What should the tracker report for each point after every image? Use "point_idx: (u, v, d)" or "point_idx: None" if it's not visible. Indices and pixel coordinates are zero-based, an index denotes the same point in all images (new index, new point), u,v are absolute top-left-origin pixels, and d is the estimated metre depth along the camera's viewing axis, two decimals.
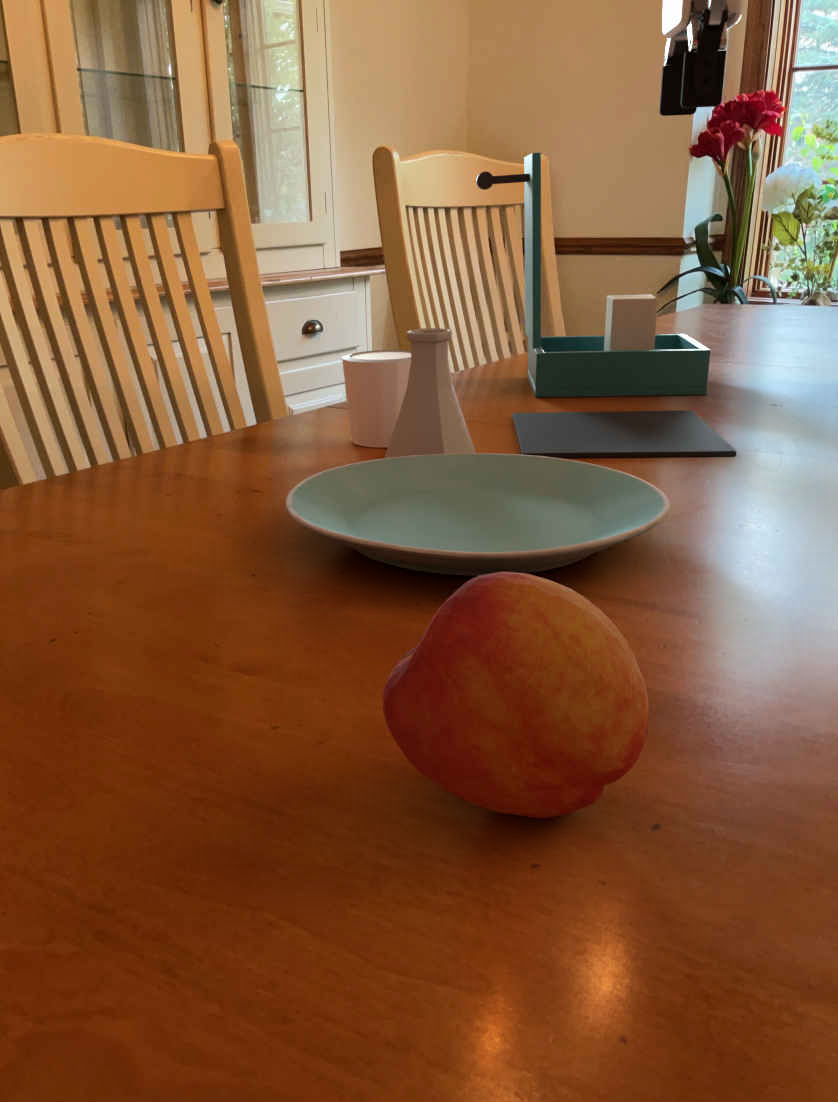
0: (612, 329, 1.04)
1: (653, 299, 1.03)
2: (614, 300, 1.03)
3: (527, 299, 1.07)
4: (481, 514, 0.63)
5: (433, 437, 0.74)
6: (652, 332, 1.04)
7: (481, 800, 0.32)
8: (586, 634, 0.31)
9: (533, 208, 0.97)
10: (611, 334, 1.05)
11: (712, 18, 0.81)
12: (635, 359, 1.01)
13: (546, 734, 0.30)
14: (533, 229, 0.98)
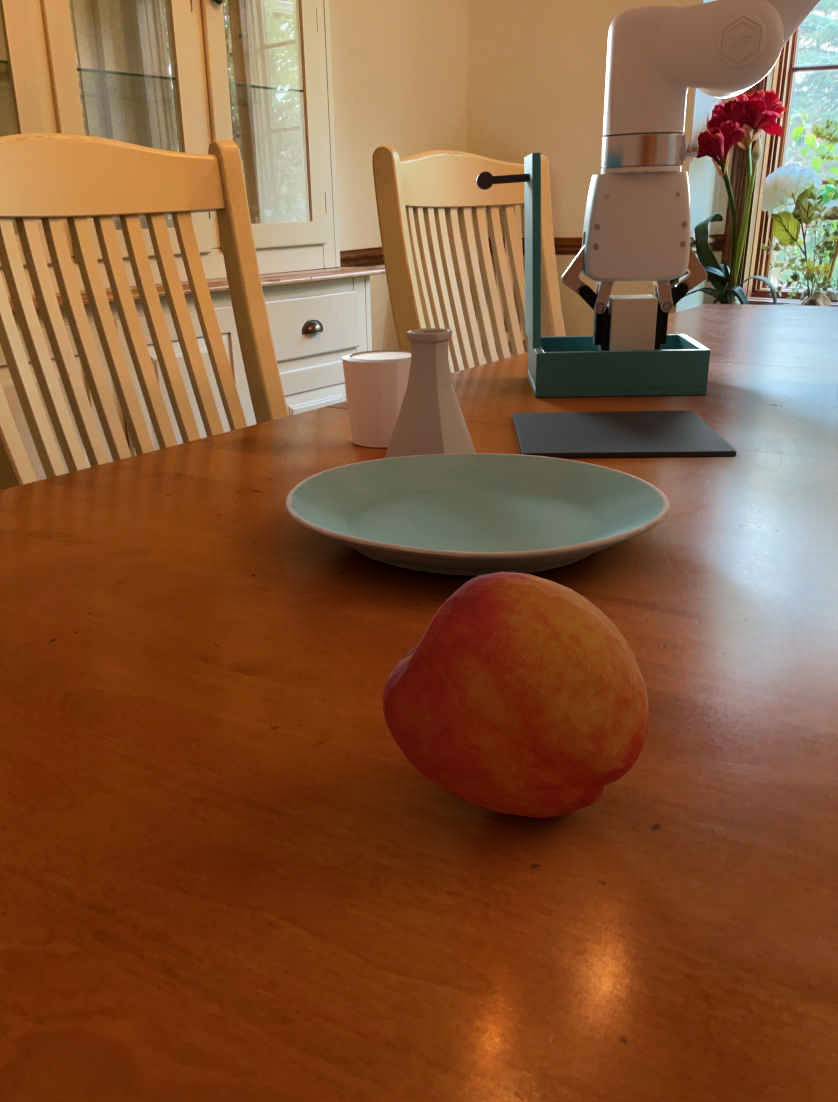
0: (612, 329, 1.04)
1: (653, 299, 1.03)
2: (614, 300, 1.03)
3: (527, 299, 1.07)
4: (481, 514, 0.63)
5: (433, 437, 0.74)
6: (652, 332, 1.04)
7: (481, 800, 0.32)
8: (585, 634, 0.31)
9: (533, 208, 0.97)
10: (611, 334, 1.05)
11: None
12: (635, 359, 1.01)
13: (545, 734, 0.30)
14: (533, 229, 0.98)
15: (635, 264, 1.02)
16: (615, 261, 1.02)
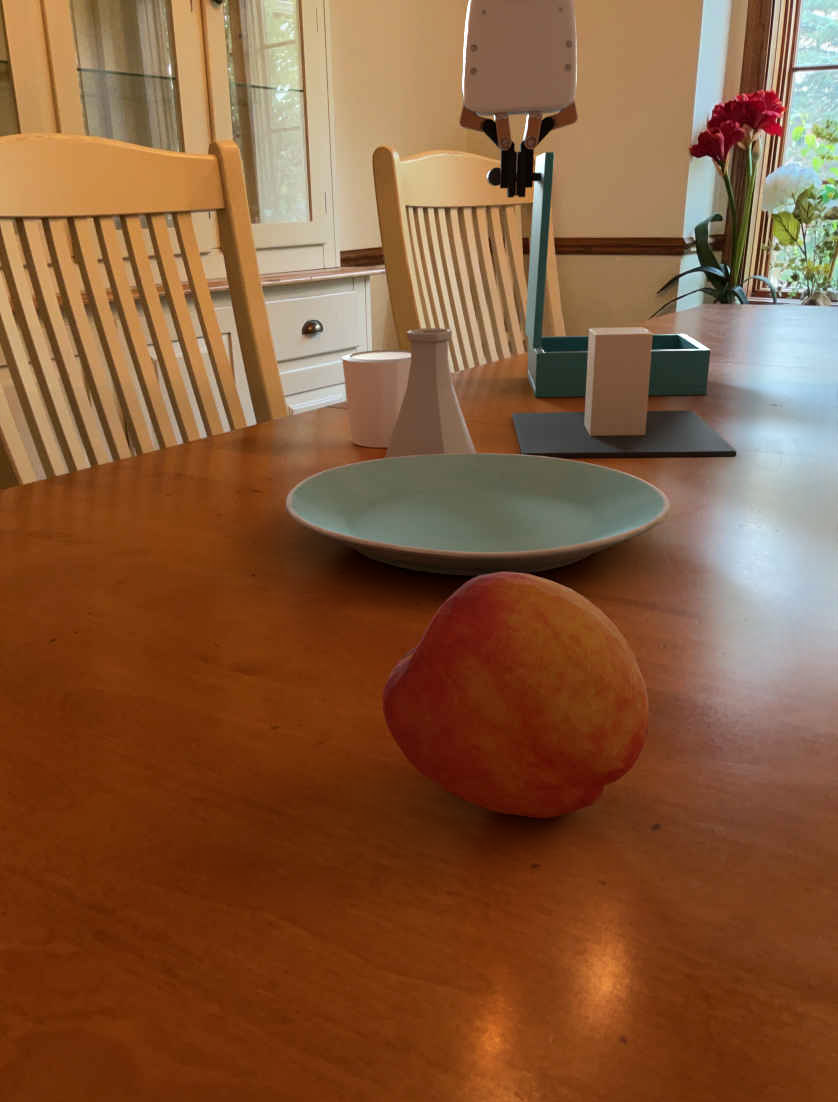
0: (595, 372, 0.83)
1: (646, 335, 0.81)
2: (597, 336, 0.82)
3: (530, 299, 1.07)
4: (481, 514, 0.63)
5: (433, 437, 0.74)
6: (645, 376, 0.83)
7: (481, 800, 0.32)
8: (586, 634, 0.31)
9: (543, 207, 0.97)
10: (594, 378, 0.83)
11: (554, 125, 0.95)
12: None
13: (546, 734, 0.30)
14: (541, 229, 0.97)
15: (517, 91, 0.93)
16: (495, 87, 0.93)
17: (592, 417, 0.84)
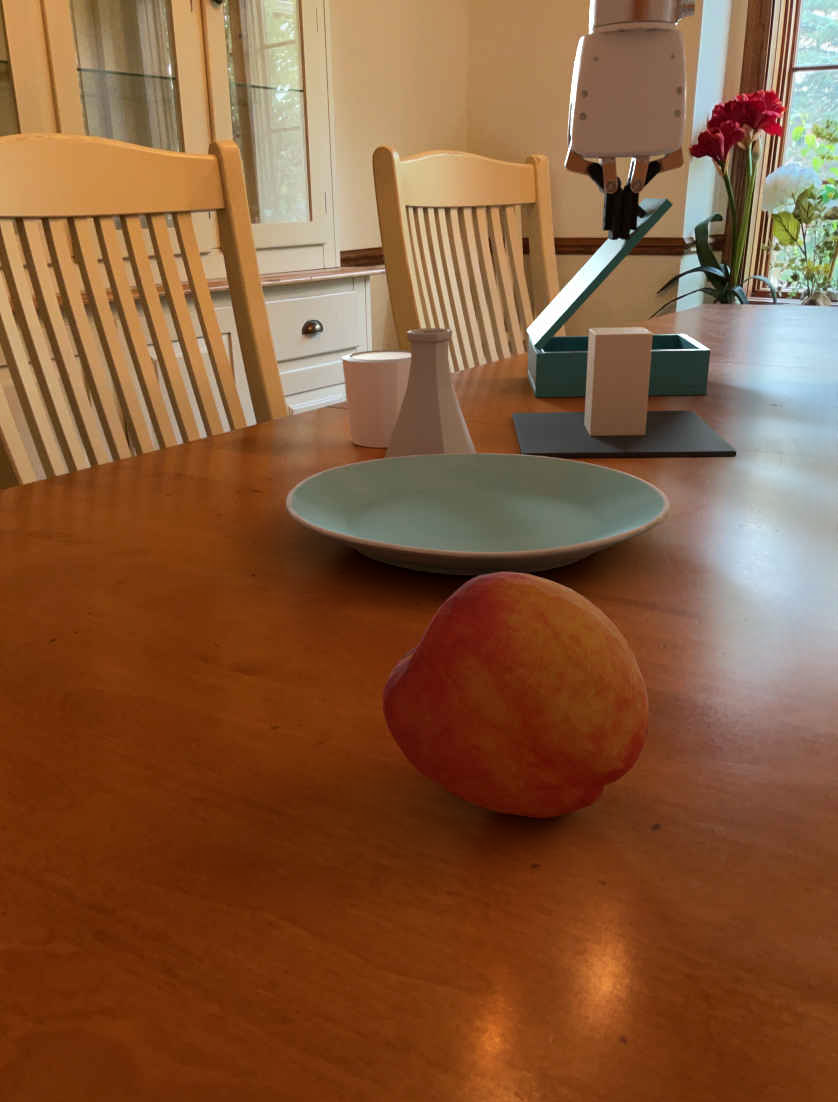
0: (595, 372, 0.83)
1: (646, 335, 0.81)
2: (597, 336, 0.82)
3: (555, 306, 1.08)
4: (481, 514, 0.63)
5: (433, 437, 0.74)
6: (645, 376, 0.83)
7: (481, 800, 0.32)
8: (586, 634, 0.31)
9: (630, 240, 0.97)
10: (594, 378, 0.83)
11: (659, 169, 0.96)
12: None
13: (546, 734, 0.30)
14: (615, 256, 0.98)
15: (626, 136, 0.93)
16: (604, 132, 0.94)
17: (592, 417, 0.84)
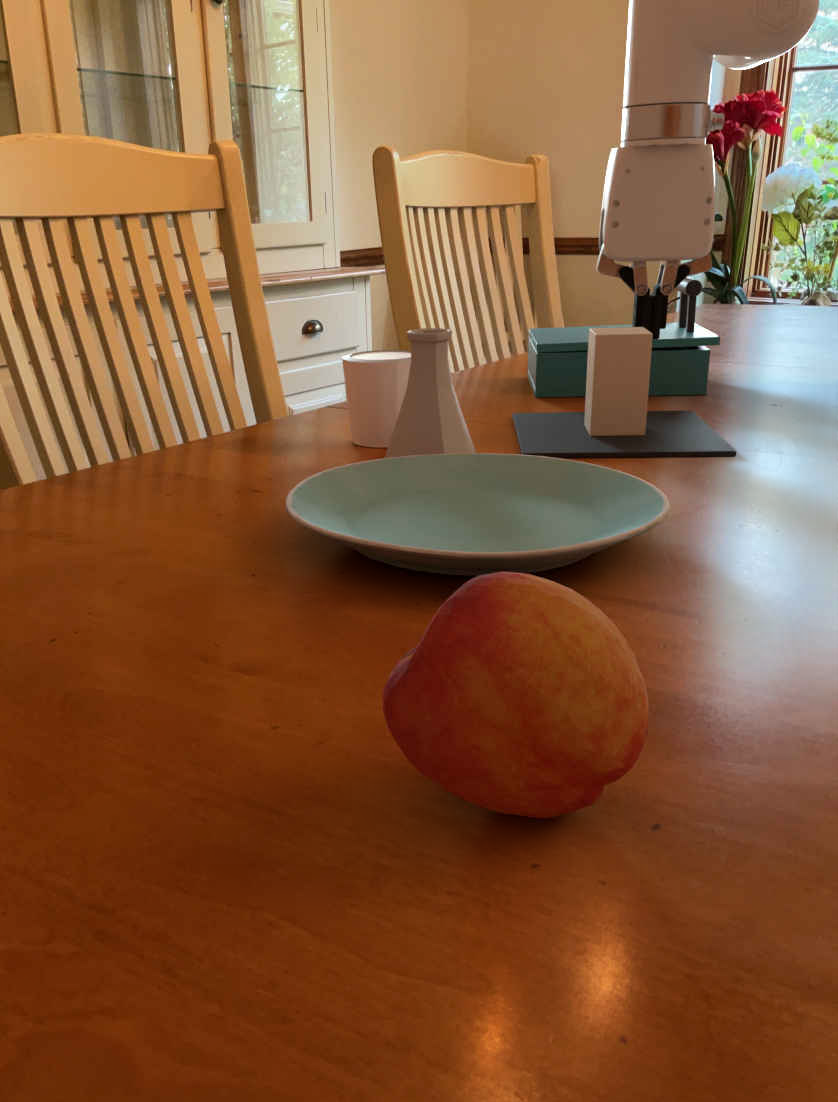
0: (595, 372, 0.83)
1: (646, 335, 0.81)
2: (597, 336, 0.82)
3: (569, 332, 1.08)
4: (481, 514, 0.63)
5: (433, 437, 0.74)
6: (645, 376, 0.83)
7: (481, 800, 0.32)
8: (586, 634, 0.31)
9: (670, 339, 1.00)
10: (594, 378, 0.83)
11: None
12: None
13: (546, 734, 0.30)
14: None
15: (656, 243, 0.97)
16: (635, 239, 0.97)
17: (592, 417, 0.84)
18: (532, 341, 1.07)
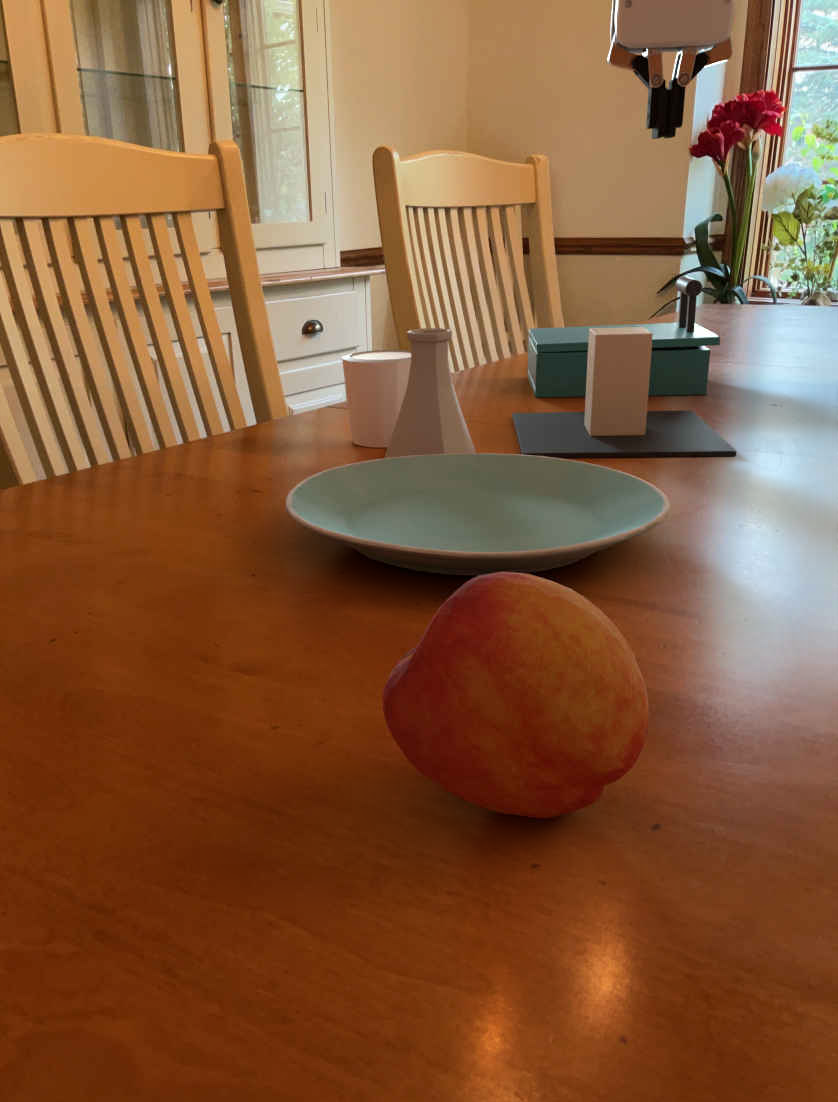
0: (595, 372, 0.83)
1: (646, 335, 0.81)
2: (597, 336, 0.82)
3: (569, 332, 1.08)
4: (481, 514, 0.63)
5: (433, 437, 0.74)
6: (645, 376, 0.83)
7: (481, 800, 0.32)
8: (586, 634, 0.31)
9: (670, 339, 1.00)
10: (594, 378, 0.83)
11: None
12: None
13: (546, 734, 0.30)
14: None
15: (673, 24, 0.90)
16: (650, 21, 0.90)
17: (592, 417, 0.84)
18: (532, 341, 1.07)
